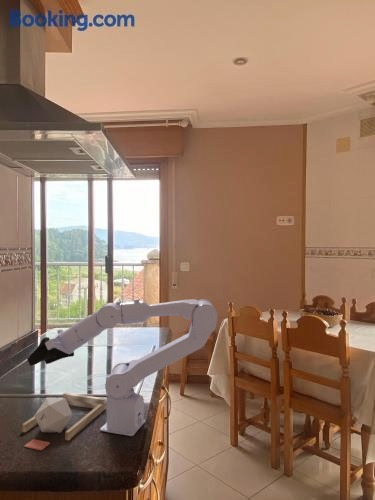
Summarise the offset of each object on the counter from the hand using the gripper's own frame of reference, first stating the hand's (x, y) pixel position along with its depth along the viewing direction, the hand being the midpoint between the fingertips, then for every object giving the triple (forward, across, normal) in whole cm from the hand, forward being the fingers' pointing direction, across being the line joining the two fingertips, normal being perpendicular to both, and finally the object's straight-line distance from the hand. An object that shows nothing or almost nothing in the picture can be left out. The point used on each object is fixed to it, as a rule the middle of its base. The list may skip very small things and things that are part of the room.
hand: (37, 361), depth 94 cm
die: (+6, -4, +17) cm, 18 cm away
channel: (+4, -9, +16) cm, 19 cm away
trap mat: (+7, +3, +18) cm, 20 cm away
